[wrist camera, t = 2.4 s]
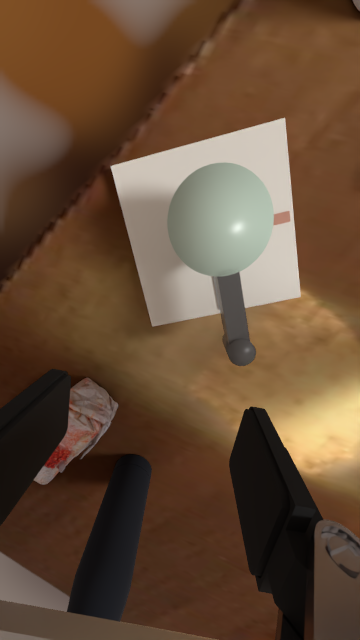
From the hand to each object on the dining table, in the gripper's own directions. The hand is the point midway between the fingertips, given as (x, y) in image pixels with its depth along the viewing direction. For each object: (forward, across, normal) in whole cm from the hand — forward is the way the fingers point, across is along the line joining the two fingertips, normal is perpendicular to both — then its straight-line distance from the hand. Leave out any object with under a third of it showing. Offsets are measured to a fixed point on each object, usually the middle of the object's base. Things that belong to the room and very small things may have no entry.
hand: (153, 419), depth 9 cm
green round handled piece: (+17, -4, -6) cm, 18 cm away
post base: (+23, -2, -10) cm, 25 cm away
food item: (+23, +12, +20) cm, 33 cm away
